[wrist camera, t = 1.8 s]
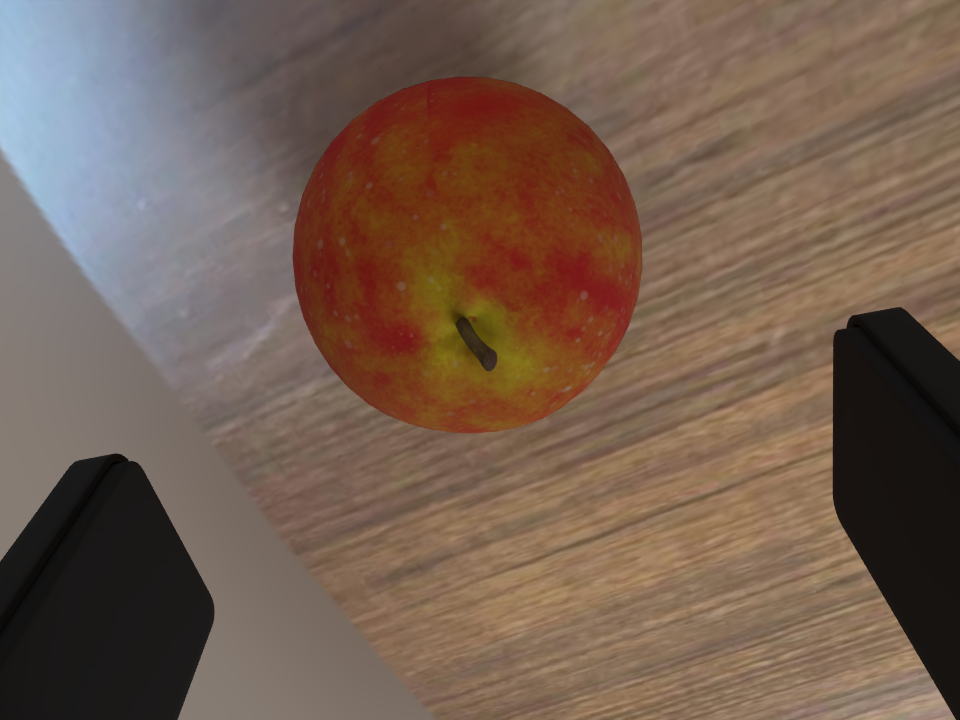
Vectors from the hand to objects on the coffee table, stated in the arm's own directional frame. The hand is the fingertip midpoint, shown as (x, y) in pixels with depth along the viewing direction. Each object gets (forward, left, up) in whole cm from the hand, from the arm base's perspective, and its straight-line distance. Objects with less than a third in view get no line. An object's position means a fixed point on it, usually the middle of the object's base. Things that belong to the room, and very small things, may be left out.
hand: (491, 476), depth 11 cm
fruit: (0, 0, -10) cm, 10 cm away
